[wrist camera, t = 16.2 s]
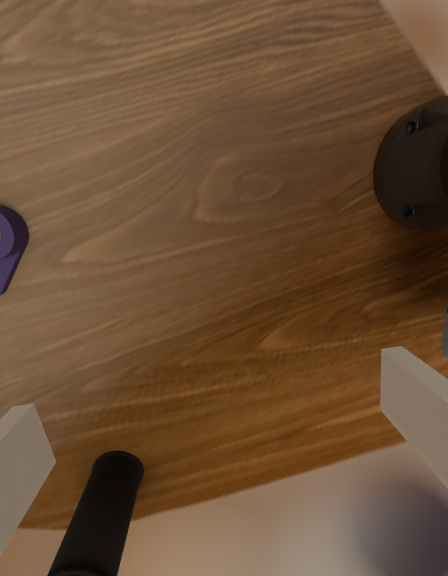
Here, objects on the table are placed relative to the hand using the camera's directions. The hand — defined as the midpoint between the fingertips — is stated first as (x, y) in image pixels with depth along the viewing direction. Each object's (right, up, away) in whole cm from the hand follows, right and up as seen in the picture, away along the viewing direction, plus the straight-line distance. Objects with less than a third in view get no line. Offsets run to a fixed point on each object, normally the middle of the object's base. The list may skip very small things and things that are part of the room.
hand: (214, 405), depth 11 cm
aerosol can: (-17, -25, +36) cm, 48 cm away
